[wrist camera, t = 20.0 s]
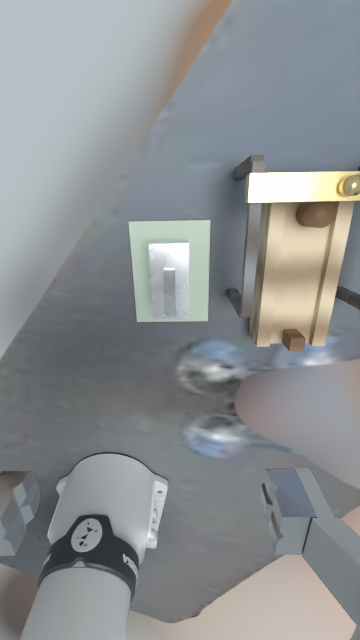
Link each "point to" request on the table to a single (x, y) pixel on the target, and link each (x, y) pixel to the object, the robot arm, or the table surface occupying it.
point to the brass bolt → (302, 187)
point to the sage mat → (198, 264)
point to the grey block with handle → (169, 278)
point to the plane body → (291, 267)
